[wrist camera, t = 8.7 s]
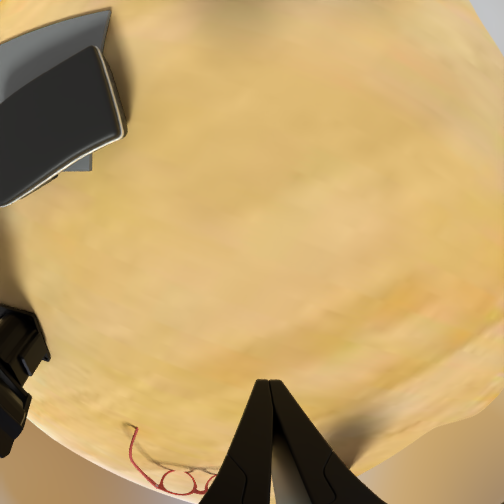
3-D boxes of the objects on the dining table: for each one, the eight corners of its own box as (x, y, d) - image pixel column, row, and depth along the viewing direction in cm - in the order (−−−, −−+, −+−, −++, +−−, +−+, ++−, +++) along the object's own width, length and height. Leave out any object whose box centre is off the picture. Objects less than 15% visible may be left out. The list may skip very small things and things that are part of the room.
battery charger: (111, 55, 15) (-5, 131, 14) (94, 37, 11) (-33, 131, 10) (137, 139, 17) (17, 207, 16) (123, 136, 14) (-10, 218, 13)
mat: (-32, 176, 16) (-34, 177, 16) (-23, 58, 11) (-26, 57, 11) (91, 170, 17) (89, 171, 17) (111, 11, 12) (109, 10, 12)
